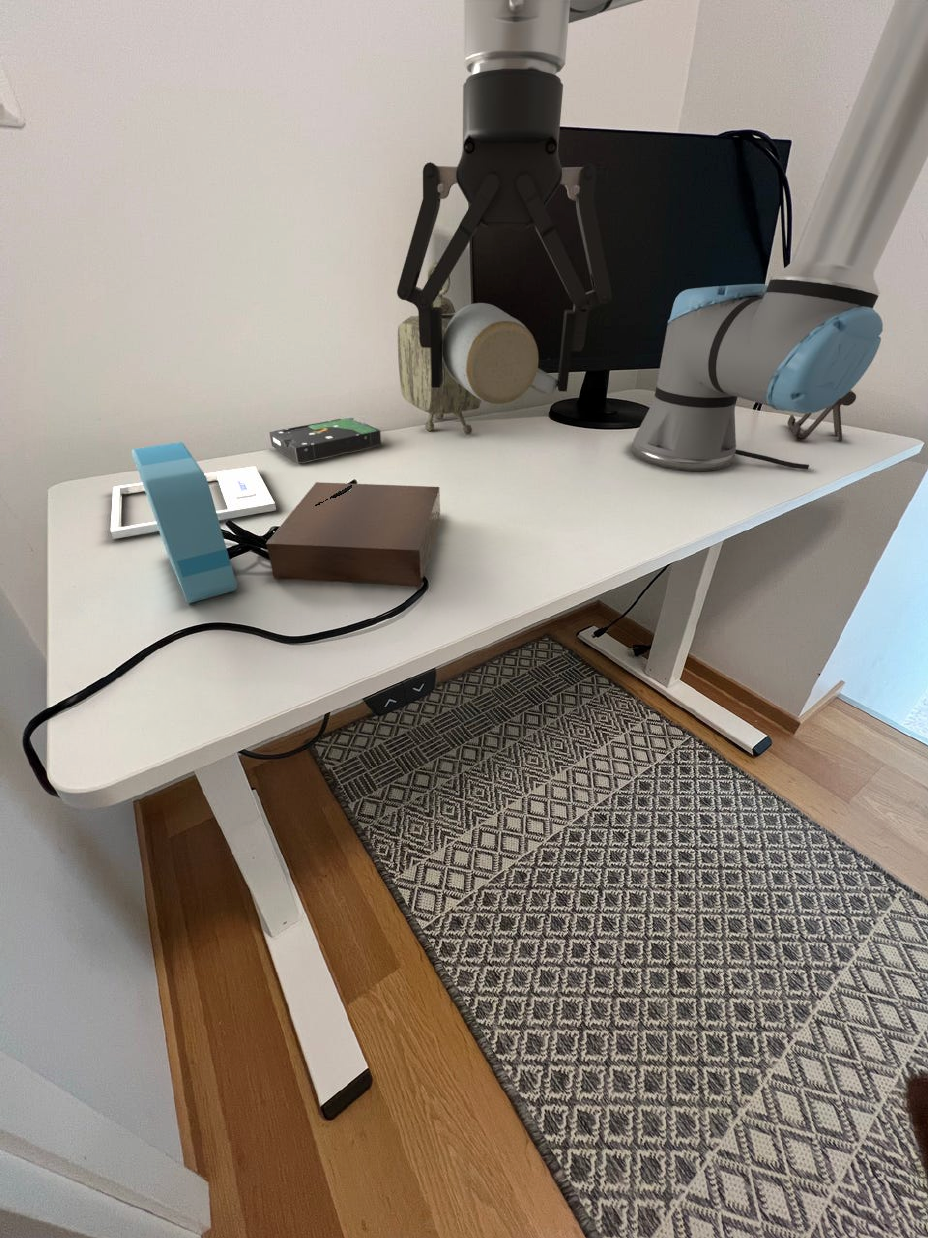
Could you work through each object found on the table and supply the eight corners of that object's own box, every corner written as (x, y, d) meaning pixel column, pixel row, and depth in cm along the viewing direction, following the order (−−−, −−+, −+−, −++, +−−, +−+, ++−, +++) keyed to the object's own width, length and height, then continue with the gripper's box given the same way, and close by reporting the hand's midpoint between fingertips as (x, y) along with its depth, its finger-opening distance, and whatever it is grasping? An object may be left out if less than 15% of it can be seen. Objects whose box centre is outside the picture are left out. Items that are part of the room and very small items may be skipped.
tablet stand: (785, 426, 100) (802, 377, 95) (833, 430, 98) (852, 381, 93) (793, 440, 93) (811, 388, 88) (844, 445, 91) (866, 392, 86)
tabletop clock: (481, 436, 94) (486, 264, 79) (435, 444, 90) (431, 265, 76) (442, 416, 104) (440, 260, 90) (399, 422, 100) (389, 260, 86)
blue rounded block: (240, 595, 52) (206, 474, 45) (190, 610, 50) (146, 485, 43) (212, 546, 60) (180, 437, 53) (168, 556, 58) (128, 445, 51)
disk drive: (299, 466, 82) (383, 446, 89) (295, 448, 80) (381, 428, 87) (271, 449, 88) (351, 431, 96) (267, 431, 86) (349, 414, 94)
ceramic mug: (465, 410, 49) (468, 312, 44) (441, 389, 55) (441, 302, 51) (572, 403, 52) (584, 311, 47) (536, 385, 58) (544, 302, 53)
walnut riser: (440, 517, 67) (439, 486, 64) (421, 586, 54) (419, 550, 51) (320, 512, 68) (316, 482, 65) (273, 578, 55) (265, 543, 52)
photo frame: (274, 501, 67) (110, 529, 61) (276, 510, 68) (113, 538, 61) (254, 465, 78) (112, 485, 71) (256, 472, 79) (116, 493, 72)
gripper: (343, 62, 38) (370, 391, 51) (689, 61, 37) (629, 399, 49) (367, 87, 44) (386, 374, 57) (664, 86, 43) (616, 381, 55)
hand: (499, 386), depth 53 cm, fingers closed on ceramic mug, 11 cm apart
